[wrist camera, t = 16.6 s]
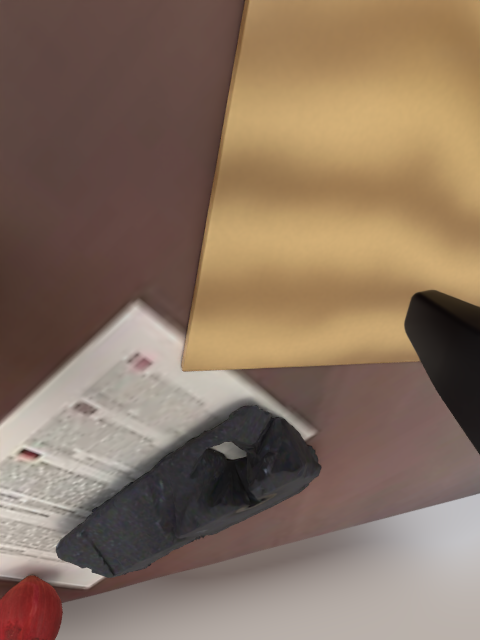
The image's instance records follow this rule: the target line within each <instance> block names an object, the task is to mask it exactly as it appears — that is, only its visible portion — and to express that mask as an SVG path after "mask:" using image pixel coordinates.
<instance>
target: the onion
mask: <svg viewBox="0 0 480 640" xmlns="http://www.w3.org/2000/svg"><path fill="white" fill-rule="evenodd" d="M62 613H63V612H62V604H61V600H60V598H59V596H58V594H57V592H56V591H55V589H54V588H53V587H52V586H51V585H50V584H49V583H47V582H45V581H43V580H42V579H40V578H38V577H36V576H35V575H30V576H28V577H26V578H24V579H23V580H22V581H21V582H19V583H18V584H17V585H15V586H14V587H13V588H11V589H10V590H9V591H8V592H7V593H6V594H5V595H4V596H3V597H2V598H1V600H0V640H55V638H56V636H57V634H58V631H59V628H60V625H61V620H62Z"/></svg>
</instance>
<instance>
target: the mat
mask: <svg viewBox="0 0 480 640" xmlns="http://www.w3.org/2000/svg"><path fill="white" fill-rule="evenodd" d="M426 290H437V291H439V292H442V293H445V294H447V295H450V296H452V297H455V298H458V299H460V300H463V301H465V302H468V303H471V304H473V305H476V306H478V307H480V0H245V3H244V9H243V15H242V21H241V26H240V32H239V38H238V43H237V49H236V55H235V61H234V66H233V72H232V78H231V83H230V89H229V95H228V101H227V106H226V112H225V118H224V124H223V129H222V135H221V141H220V146H219V152H218V158H217V164H216V169H215V175H214V181H213V186H212V192H211V198H210V204H209V209H208V215H207V221H206V227H205V232H204V238H203V244H202V249H201V255H200V261H199V267H198V272H197V278H196V284H195V290H194V295H193V301H192V307H191V312H190V318H189V324H188V330H187V335H186V341H185V347H184V352H183V358H182V364H181V366H182V371H207V370H230V369H253V368H277V367H300V366H323V365H347V364H370V363H393V362H416V361H420V359H419V357H418V355H417V353H416V351H415V349H414V348H413V346H412V344H411V342H410V340H409V338H408V336H407V334H406V332H405V329H404V321H405V317H406V314H407V310H408V307H409V304H410V300H411V297H412V296H413V295H414V294H415V293H417V292H421V291H426Z"/></svg>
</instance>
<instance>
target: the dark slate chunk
mask: <svg viewBox="0 0 480 640" xmlns="http://www.w3.org/2000/svg"><path fill="white" fill-rule="evenodd" d="M224 442H233V443H234V444H235V445H236V446H238V447H239V448H241V449H242V450H245V451H246V452H247V457H245V458H241V459H237V460H226V457H225V456H224V455H223V454H222V453H220V452H215V451H213V450H210V449H207V448H210V447H213V446H216V445H220V444H222V443H224ZM320 470H321V465H320V464H319V463H318V458H317V456H316V455H315V450H313V449H312V446H307V445H306V443H305V442H304V440H303V439H302V437H301V435H300V434H299V432H298V431H297V430H296V429H295V428H294V427H293V426H291V425H290V424H289V423H288V422H287V421H286V420H285V419H282V418H279V417H276V418H271V414H270V413H269V412H264V411H263V410H262V409H259V407H258V406H256V405H255V406H244V407H241V408H240V409H239V410H237V411H235V412H233V413H231V414H230V415H229V420H226V421H225V422H223V423H221V424H220V425H218V426H217V427H215V428H213V429H211V430H209V431H204V432H203V434H201V435H200V436H198V437H197V438H193V439H191V440H190V441H188V442H187V443H186V444H185V445H184V446H183V447H181V448H179V449H177V450H176V451H174V452H171V453H170V454H168V455H167V456H166V457H164V458H163V459H162V460H161V461H160V462H159V463H158V464H157V465H156V466H155V467H154V468H153V469H152V470H151V471H150V472H148V473H146V474H144V475H143V476H142V477H140V478H139V479H137V480H136V481H135V482H131V483H130V484H129V485H127V486H125V487H124V488H123V489H122V490H121V491H120V492H119V493H117V494H116V495H115V496H114V497H113V498H112V499H109V500H107V501H106V502H104V503H103V504H102V505H101V506H100V507H96V508H94V509H93V510H92V512H93V513H92V515H90V516H88V517H87V520H86V521H85V522H83V523H81V524H80V525H78V526H77V527H76V528H74V529H73V530H72V531H71V532H70V533H68V534H67V535H66V536H65V537H64V538H62V539H61V540H60V542H59V543H58V545H57V546H56V553H57V556H58V558H60V559H61V560H63V561H66V562H70V563H72V564H74V565H77V566H79V567H81V568H86V567H87V568H89V569H92V573H96V574H99V575H102V576H104V577H108V578H112V577H116V576H120V575H123V574H124V575H125V574H127V573H128V572H133V571H138V570H142V569H145V568H147V566H150V565H151V563H153V562H155V561H156V560H158V559H159V558H162V557H163V556H165V555H167V554H169V553H170V552H171V551H173V550H175V549H178V548H180V547H182V546H184V545H186V544H188V543H190V542H193V541H194V540H197V539H200V538H201V537H202V536H203V537H202V538H204V536H206V535H213V534H216V533H218V532H220V531H222V530H224V529H227V528H228V527H230V526H232V525H234V524H237V523H239V522H241V521H244V520H246V519H247V518H249V517H251V516H253V515H256V514H258V513H260V512H261V511H264V510H266V509H268V508H271V507H273V506H274V505H276V504H278V503H280V502H282V501H284V500H286V499H288V498H290V497H292V496H294V495H296V494H298V493H300V492H301V491H302V490H304V489H305V488H306V487H307V486H308V485H309V483H310V482H311V481H312V480H313V479H314V478H316V477H317V476H319V473H320ZM200 536H201V537H200Z"/></svg>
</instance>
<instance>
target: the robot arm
mask: <svg viewBox="0 0 480 640" xmlns="http://www.w3.org/2000/svg"><path fill="white" fill-rule="evenodd" d="M404 329H405V332H406V334H407V336H408V338H409V340H410V342H411V344H412V346H413V348H414V349H415V351H416V353H417V355H418V357H419V359H420V361H421V363H422V364H423V366H424V368H425V370H426V372H427V374H428V376H429V378H430V380H431V381H432V383H433V385H434V387H435V388H436V390H437V392H438V393H439V395H440V396H441V398H442V400H443V401H444V403H445V404H446V406H447V407H448V409H449V410H450V411H451V413H452V414H453V416H454V417H455V419H456V420H457V422H458V423H459V425H460V426H461V428H462V429H463V431H464V432H465V434H466V435H467V437H468V438H469V440H470V441H471V443H472V444H473V445H474V447H475V448H476V450H477V451H478V453H479V454H480V307H478V306H476V305H473V304H471V303H468V302H465V301H463V300H460V299H458V298H455V297H452V296H450V295H447V294H445V293H442V292H439V291H437V290H426V291H421V292H417V293H415V294H414V295H413V296H412V297H411V300H410V304H409V307H408V310H407V314H406V317H405V321H404Z"/></svg>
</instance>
